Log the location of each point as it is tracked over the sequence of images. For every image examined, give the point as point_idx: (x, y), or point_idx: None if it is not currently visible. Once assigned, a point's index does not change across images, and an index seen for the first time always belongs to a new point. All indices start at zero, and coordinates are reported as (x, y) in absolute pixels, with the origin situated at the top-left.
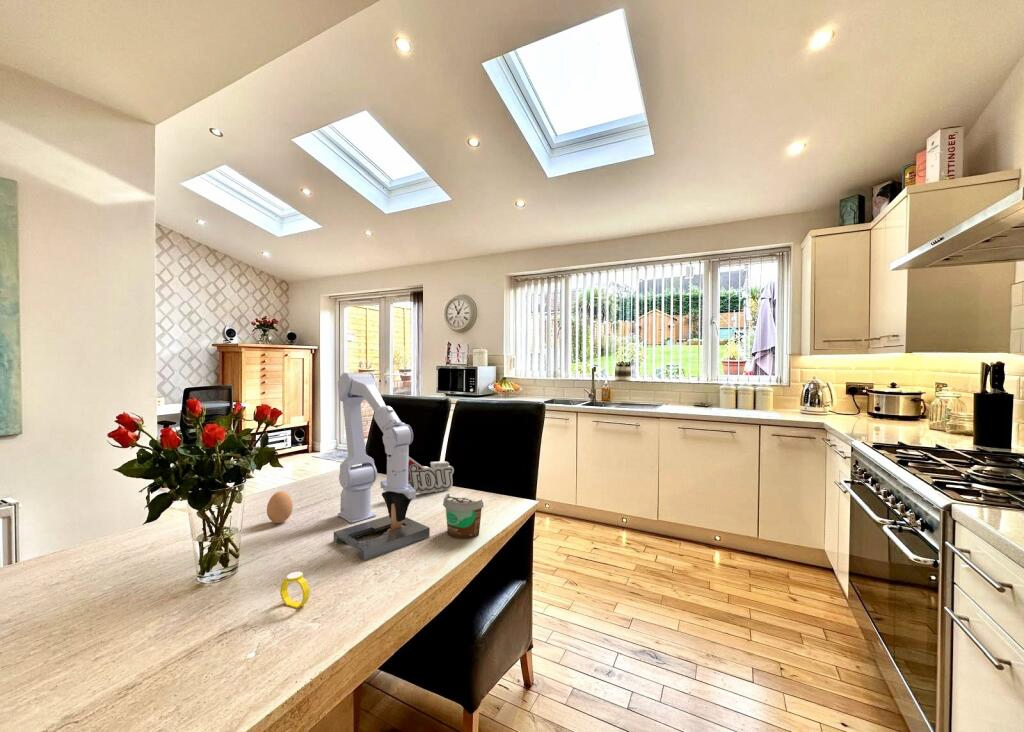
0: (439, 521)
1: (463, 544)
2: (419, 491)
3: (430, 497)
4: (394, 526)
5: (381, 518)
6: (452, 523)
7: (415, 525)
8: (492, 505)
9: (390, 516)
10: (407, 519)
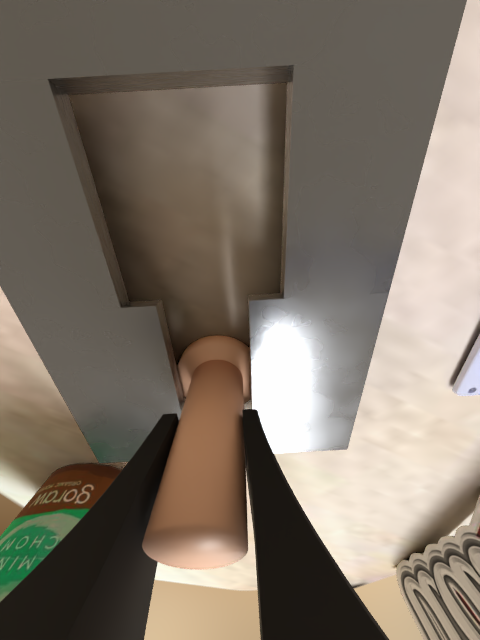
0: None
1: (7, 461)
2: (454, 545)
3: (400, 533)
4: (195, 382)
5: (354, 385)
6: (30, 524)
7: None
8: (224, 573)
9: (243, 417)
10: None
